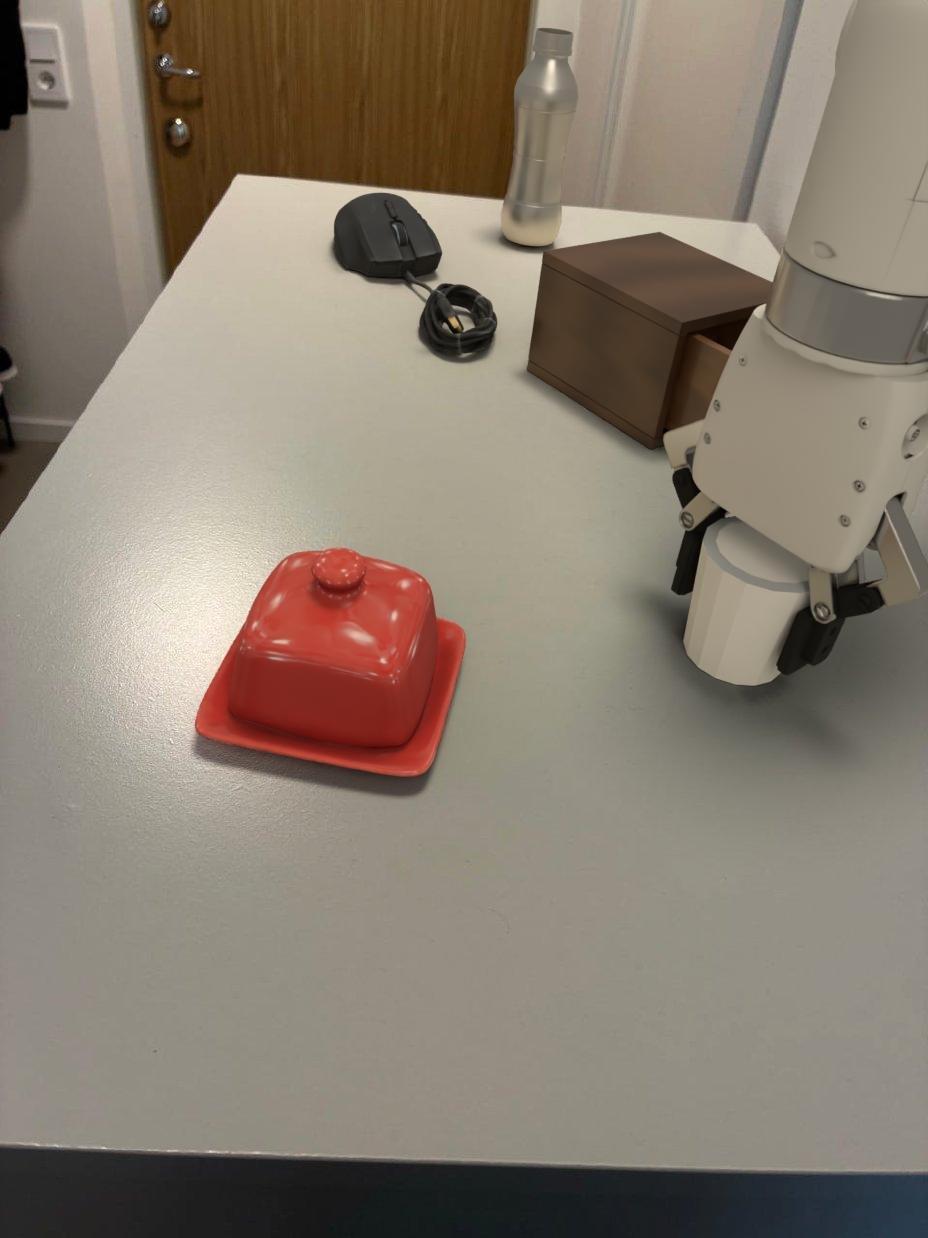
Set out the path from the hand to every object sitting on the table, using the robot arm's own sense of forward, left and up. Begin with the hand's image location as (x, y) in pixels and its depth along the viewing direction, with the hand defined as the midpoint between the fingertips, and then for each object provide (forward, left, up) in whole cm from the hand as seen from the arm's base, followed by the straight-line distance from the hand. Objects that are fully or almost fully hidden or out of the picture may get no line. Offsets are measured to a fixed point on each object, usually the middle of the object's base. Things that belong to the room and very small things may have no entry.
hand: (743, 621), depth 52 cm
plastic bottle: (+1, -67, -2) cm, 67 cm away
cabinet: (-3, -32, -2) cm, 32 cm away
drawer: (-8, -23, -1) cm, 24 cm away
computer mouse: (+15, -52, -2) cm, 54 cm away
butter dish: (+22, +3, -2) cm, 22 cm away
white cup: (0, 0, -2) cm, 2 cm away
